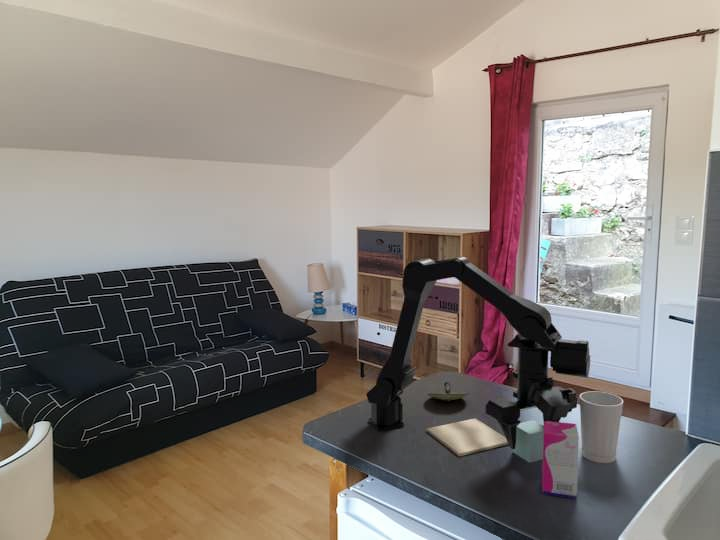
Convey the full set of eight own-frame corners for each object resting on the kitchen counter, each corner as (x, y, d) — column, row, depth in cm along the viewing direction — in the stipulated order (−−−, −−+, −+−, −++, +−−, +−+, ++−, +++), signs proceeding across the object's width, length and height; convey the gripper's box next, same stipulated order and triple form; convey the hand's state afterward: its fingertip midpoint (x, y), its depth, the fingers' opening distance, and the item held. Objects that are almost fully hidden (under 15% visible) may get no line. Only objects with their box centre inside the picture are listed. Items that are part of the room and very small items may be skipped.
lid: (430, 410, 132) (430, 390, 131) (424, 395, 142) (424, 377, 141) (473, 409, 132) (473, 389, 132) (464, 394, 142) (464, 376, 141)
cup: (602, 469, 102) (604, 409, 101) (568, 451, 109) (570, 395, 108) (629, 459, 106) (632, 401, 104) (595, 443, 113) (597, 388, 111)
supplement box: (575, 482, 98) (577, 422, 96) (577, 499, 92) (579, 437, 91) (541, 477, 100) (543, 419, 98) (541, 494, 94) (543, 432, 92)
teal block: (529, 463, 105) (530, 434, 104) (512, 452, 110) (513, 424, 109) (549, 457, 107) (550, 429, 106) (532, 447, 112) (532, 420, 111)
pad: (459, 456, 108) (459, 453, 108) (426, 431, 120) (426, 428, 120) (511, 443, 113) (511, 441, 113) (475, 420, 125) (475, 418, 125)
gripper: (522, 390, 95) (520, 472, 97) (600, 374, 102) (596, 451, 104) (484, 372, 105) (483, 446, 107) (557, 359, 112) (555, 429, 115)
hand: (530, 444), depth 108 cm, fingers open, 9 cm apart
